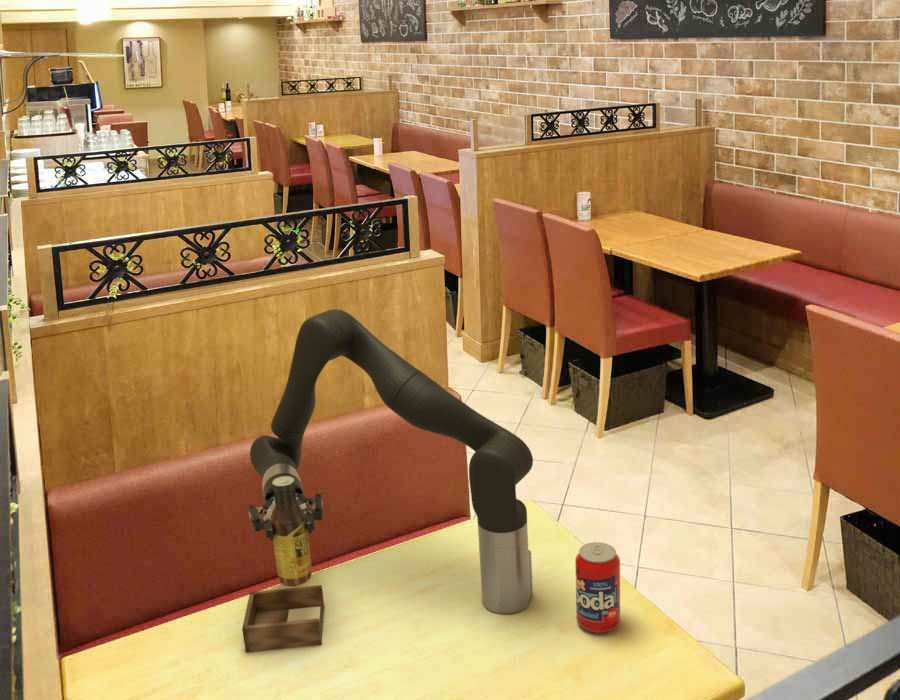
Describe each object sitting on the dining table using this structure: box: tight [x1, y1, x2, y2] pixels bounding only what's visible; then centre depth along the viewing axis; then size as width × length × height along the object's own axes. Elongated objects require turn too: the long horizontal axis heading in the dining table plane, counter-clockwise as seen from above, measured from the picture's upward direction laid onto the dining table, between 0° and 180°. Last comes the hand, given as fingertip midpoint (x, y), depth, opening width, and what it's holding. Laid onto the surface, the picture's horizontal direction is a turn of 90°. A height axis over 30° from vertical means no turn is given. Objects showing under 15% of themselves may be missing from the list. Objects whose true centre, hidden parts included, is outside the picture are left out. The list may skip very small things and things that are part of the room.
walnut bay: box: [241, 584, 325, 653], centre depth 171 cm, size 14×12×5 cm
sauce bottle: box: [271, 476, 313, 587], centre depth 166 cm, size 7×6×20 cm
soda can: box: [574, 541, 621, 633], centre depth 165 cm, size 8×8×15 cm
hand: (290, 531), depth 163 cm, fingers closed on sauce bottle, 6 cm apart
